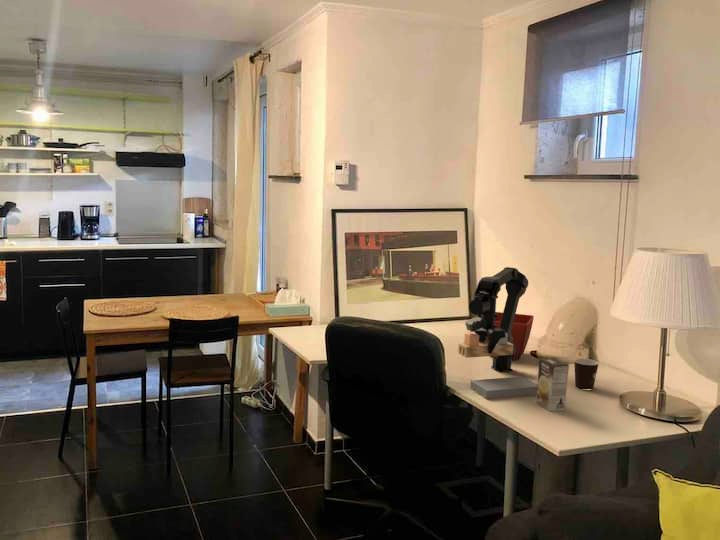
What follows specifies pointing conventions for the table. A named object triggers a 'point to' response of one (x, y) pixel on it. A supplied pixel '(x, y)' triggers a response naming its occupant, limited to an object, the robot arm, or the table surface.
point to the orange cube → (471, 339)
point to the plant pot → (518, 332)
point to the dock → (504, 387)
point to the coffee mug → (585, 373)
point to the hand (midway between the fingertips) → (485, 350)
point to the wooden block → (484, 350)
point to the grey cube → (503, 340)
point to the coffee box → (552, 384)
